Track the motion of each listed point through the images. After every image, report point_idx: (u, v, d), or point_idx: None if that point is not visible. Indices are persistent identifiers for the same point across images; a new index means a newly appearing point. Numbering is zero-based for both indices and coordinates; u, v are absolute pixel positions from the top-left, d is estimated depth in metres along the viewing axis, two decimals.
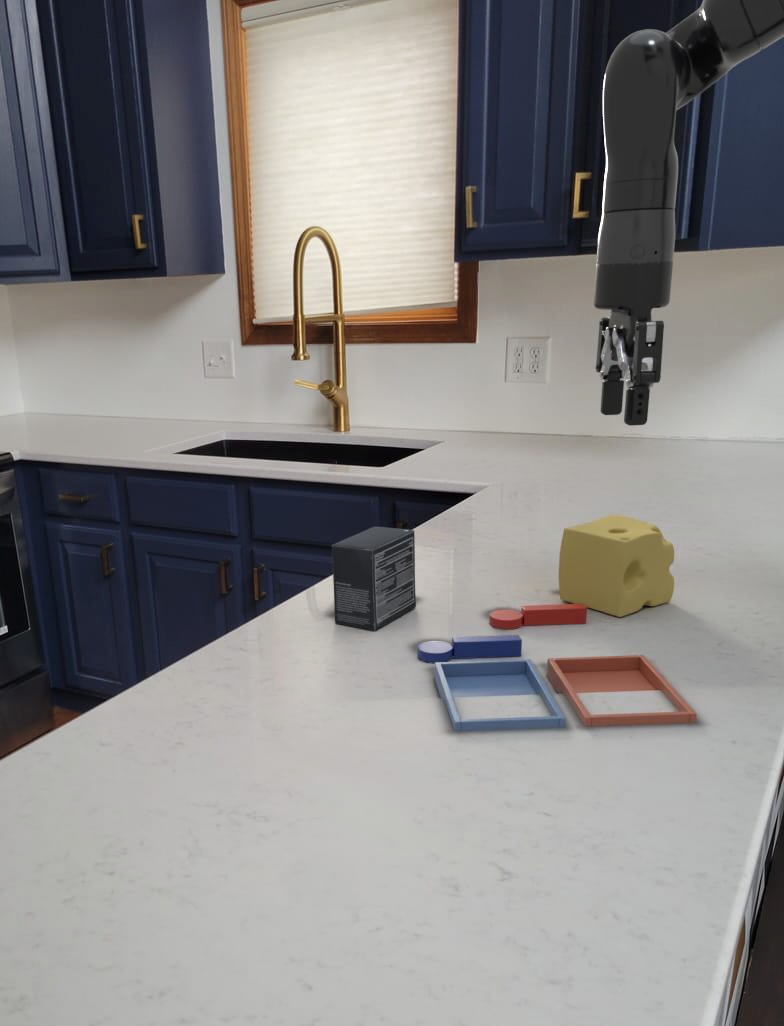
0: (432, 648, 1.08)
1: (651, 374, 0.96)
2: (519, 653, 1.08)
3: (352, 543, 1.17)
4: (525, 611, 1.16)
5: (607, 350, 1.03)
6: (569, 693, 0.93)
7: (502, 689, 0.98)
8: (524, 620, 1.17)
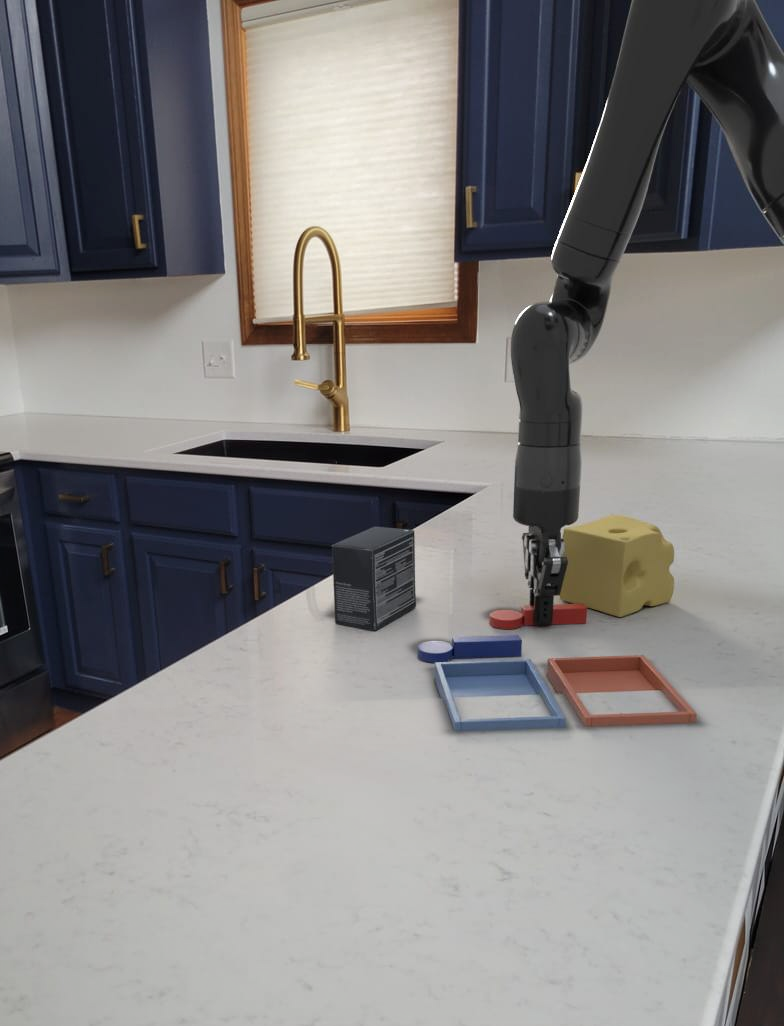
0: (432, 648, 1.08)
1: (552, 589, 1.12)
2: (519, 653, 1.08)
3: (352, 543, 1.17)
4: (525, 611, 1.16)
5: (528, 555, 1.16)
6: (569, 693, 0.93)
7: (502, 689, 0.98)
8: (524, 620, 1.17)
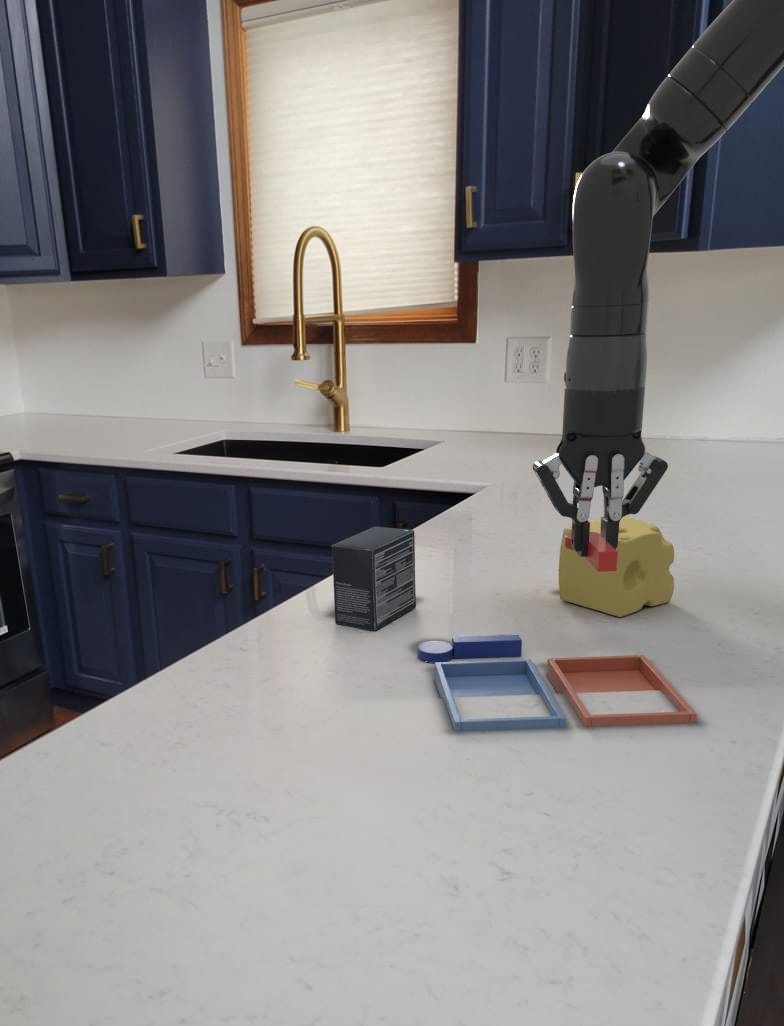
0: (432, 648, 1.08)
1: None
2: (519, 653, 1.08)
3: (352, 543, 1.17)
4: None
5: None
6: (569, 693, 0.93)
7: (502, 689, 0.98)
8: None
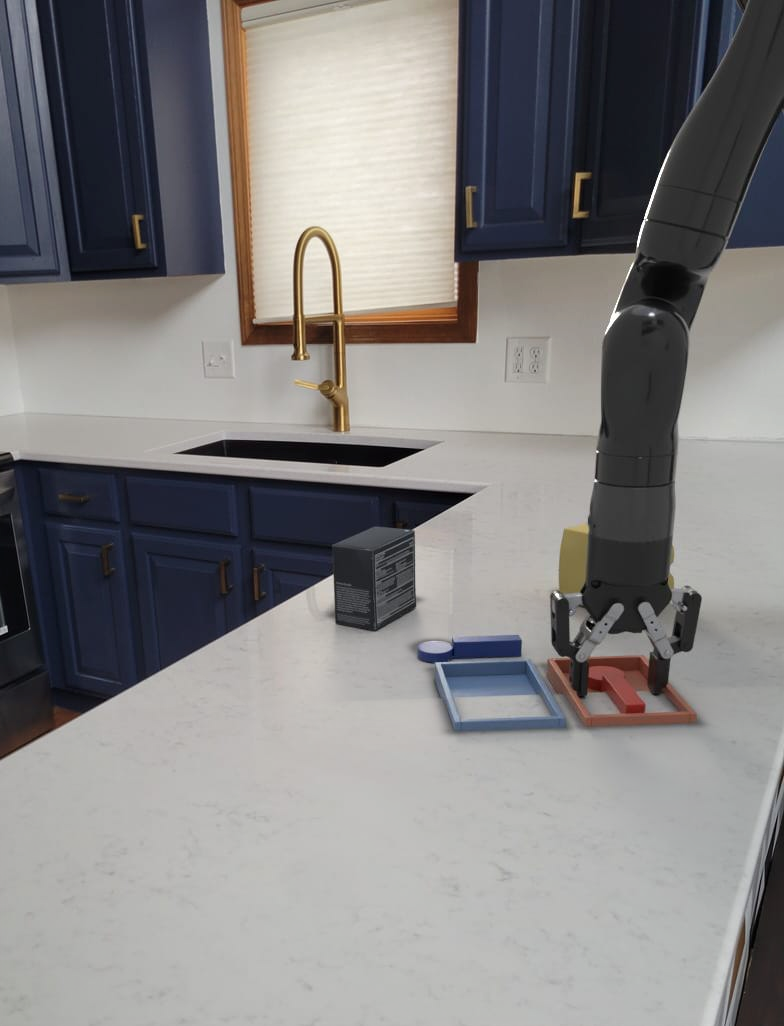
0: (432, 648, 1.08)
1: None
2: (519, 653, 1.08)
3: (352, 543, 1.17)
4: (602, 675, 0.96)
5: None
6: (569, 693, 0.93)
7: (502, 689, 0.98)
8: (601, 685, 0.96)
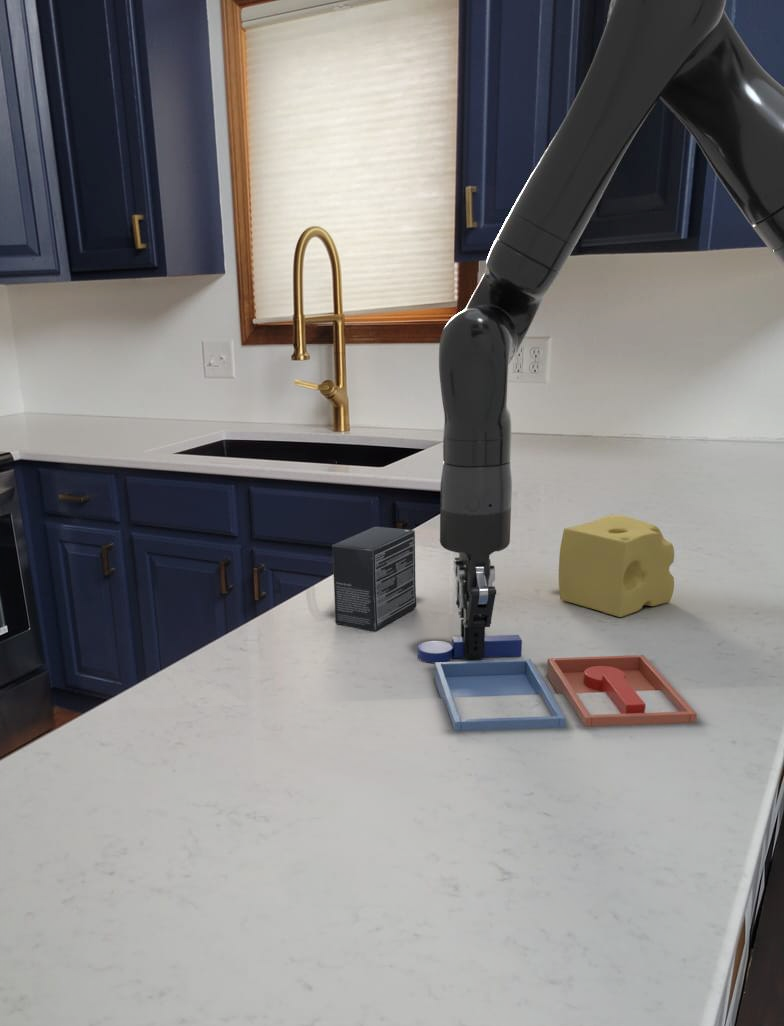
0: (432, 648, 1.08)
1: (482, 620, 1.03)
2: (519, 653, 1.08)
3: (352, 543, 1.17)
4: (602, 675, 0.96)
5: (458, 582, 1.07)
6: (569, 693, 0.93)
7: (502, 689, 0.98)
8: (601, 685, 0.96)
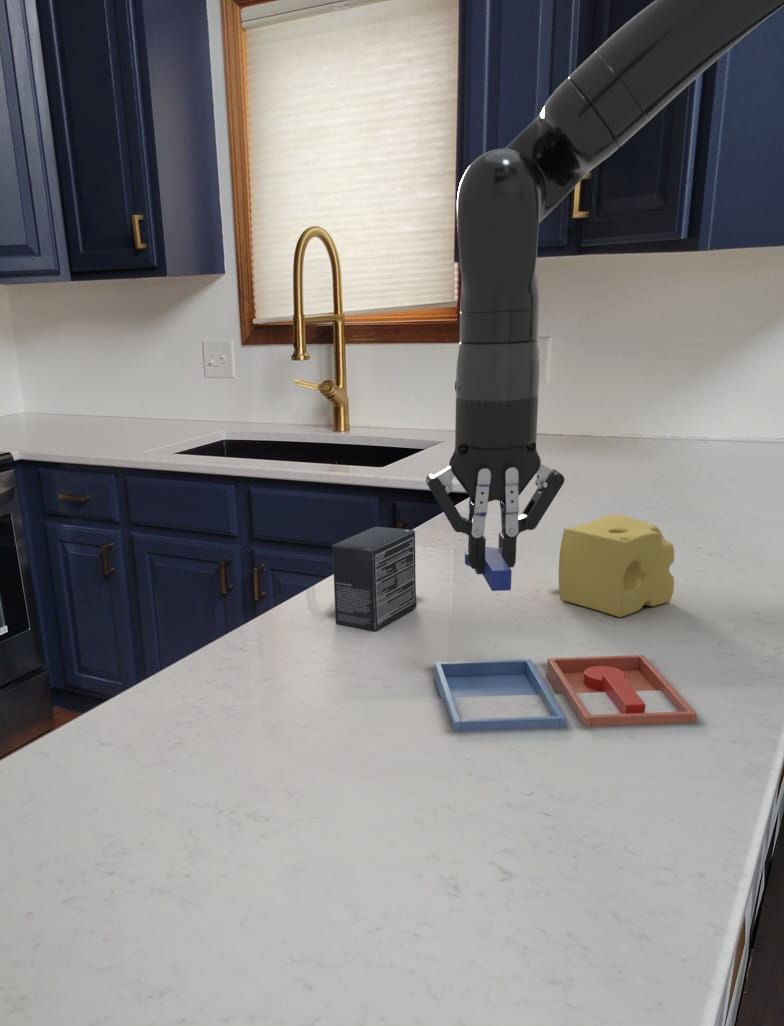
0: None
1: None
2: (491, 586, 0.90)
3: (353, 543, 1.17)
4: (602, 675, 0.96)
5: None
6: (569, 693, 0.93)
7: (502, 689, 0.98)
8: (601, 685, 0.96)
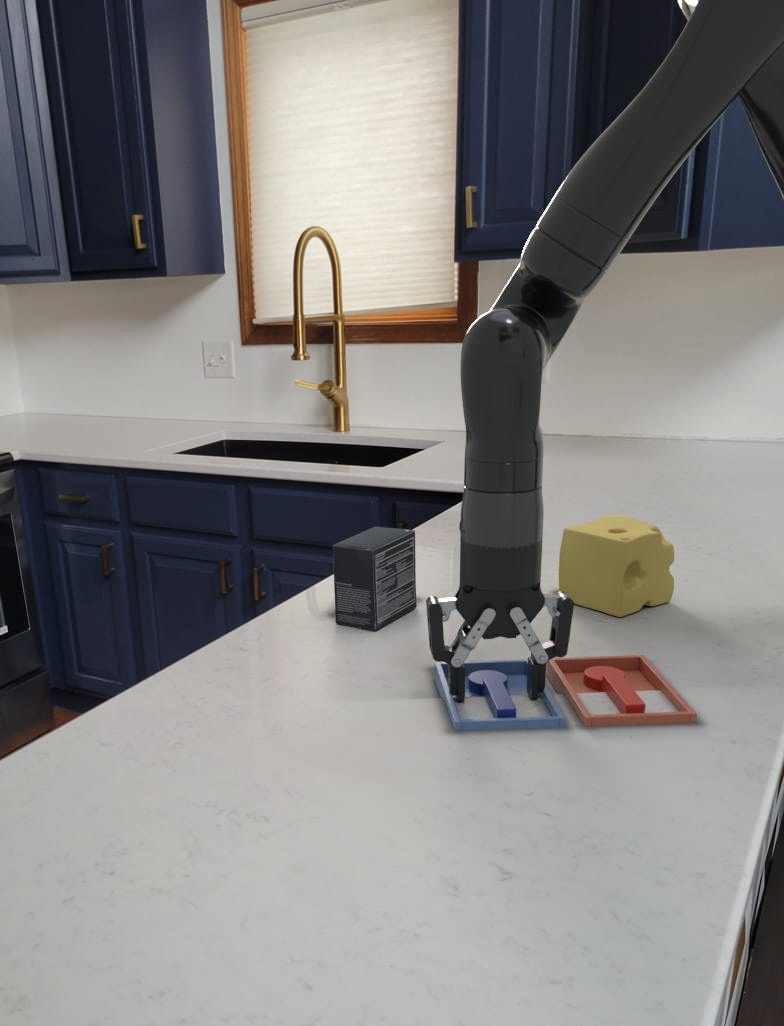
0: (482, 676, 0.99)
1: None
2: None
3: (353, 543, 1.17)
4: (602, 675, 0.96)
5: None
6: (569, 693, 0.93)
7: None
8: (601, 685, 0.96)
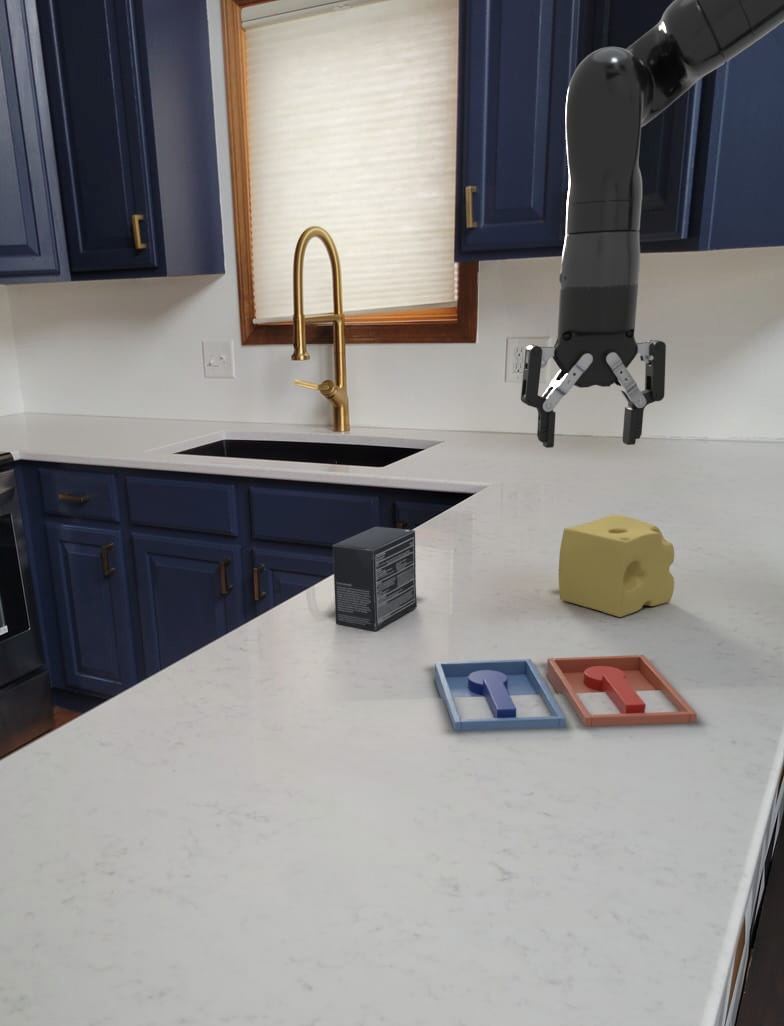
0: (482, 676, 0.99)
1: (525, 396, 0.99)
2: None
3: (353, 543, 1.17)
4: (602, 675, 0.96)
5: None
6: (569, 693, 0.93)
7: None
8: (601, 685, 0.96)
